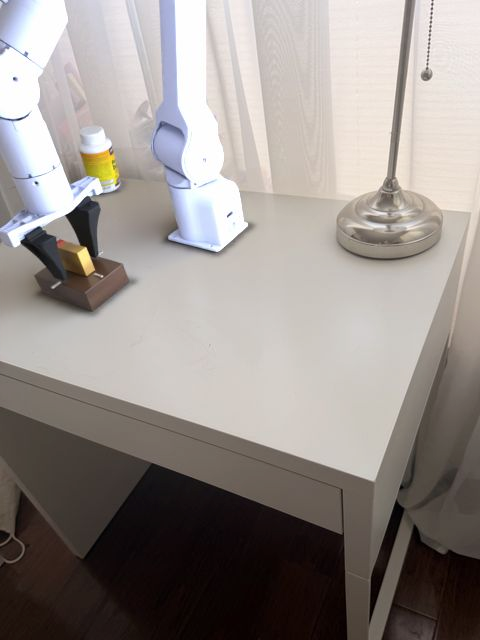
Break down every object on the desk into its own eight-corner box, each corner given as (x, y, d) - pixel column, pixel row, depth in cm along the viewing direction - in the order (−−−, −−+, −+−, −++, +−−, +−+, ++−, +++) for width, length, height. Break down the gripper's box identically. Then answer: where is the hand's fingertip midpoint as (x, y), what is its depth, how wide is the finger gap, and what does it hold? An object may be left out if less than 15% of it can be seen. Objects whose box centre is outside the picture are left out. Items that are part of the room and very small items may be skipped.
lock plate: (134, 277, 75) (128, 258, 72) (86, 316, 69) (78, 296, 67) (85, 262, 79) (77, 243, 77) (36, 297, 74) (26, 278, 72)
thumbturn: (95, 269, 71) (85, 245, 69) (86, 276, 71) (76, 251, 68) (69, 262, 74) (59, 238, 71) (61, 268, 73) (50, 244, 70)
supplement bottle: (123, 191, 96) (110, 133, 89) (92, 197, 95) (75, 139, 88) (119, 177, 100) (105, 121, 93) (88, 182, 99) (72, 126, 91)
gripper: (59, 139, 69) (94, 233, 78) (-38, 190, 60) (14, 289, 70) (98, 145, 66) (130, 243, 75) (0, 200, 57) (50, 302, 66)
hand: (76, 266), depth 72 cm, fingers open, 5 cm apart
